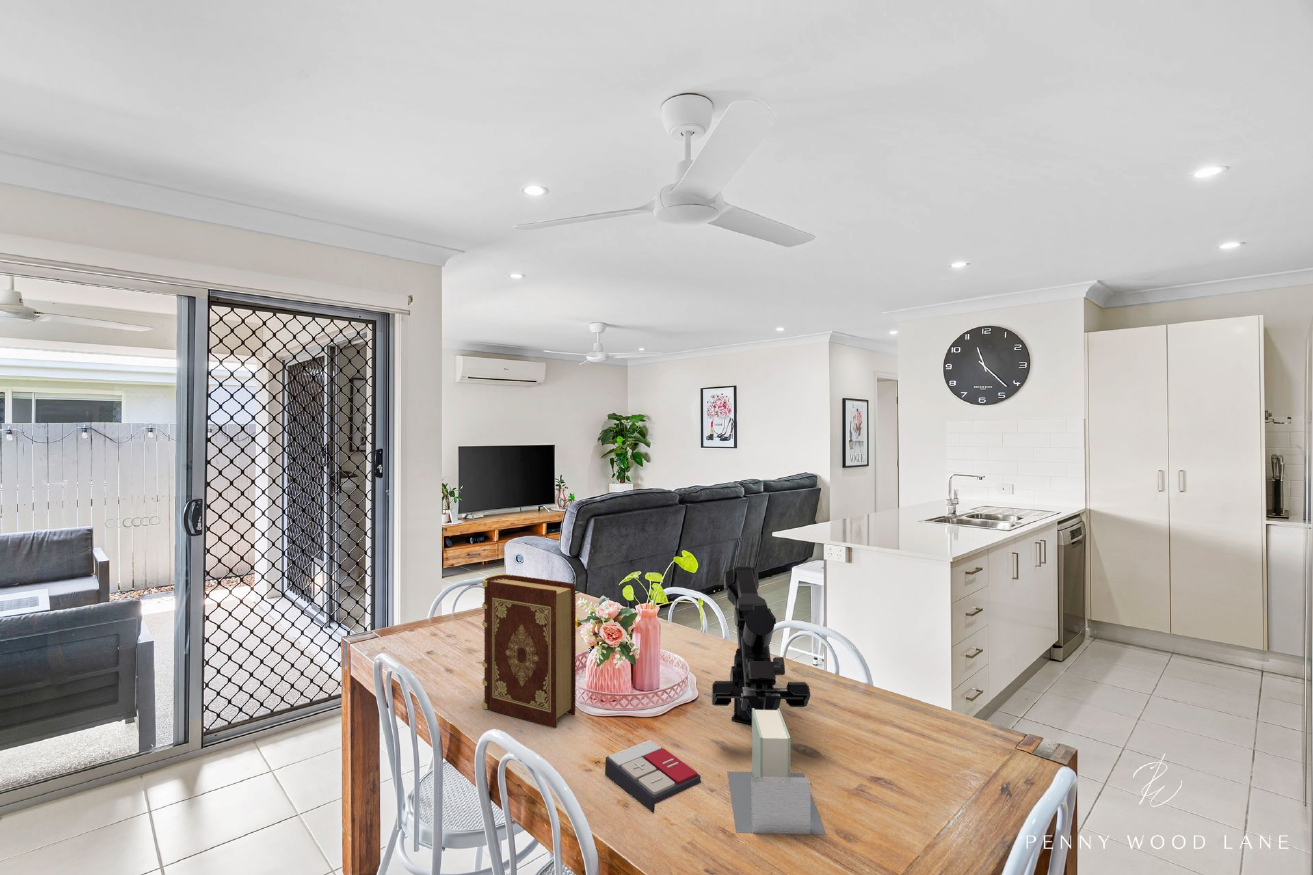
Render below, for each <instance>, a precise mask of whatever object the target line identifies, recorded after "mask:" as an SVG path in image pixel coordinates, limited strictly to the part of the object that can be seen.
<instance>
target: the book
mask: <svg viewBox="0 0 1313 875" xmlns="http://www.w3.org/2000/svg"><path fill="white" fill-rule="evenodd" d="M751 772H752V776H754V777H790V773H791V736H790V733H789V730H788V728H787V725H786V723H785V719H784V718H783V715H782V712H781V710H780V708H779V709H777V710H755V709H754V708H752V725H751Z"/></svg>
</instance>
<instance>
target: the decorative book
mask: <svg viewBox="0 0 1313 875" xmlns="http://www.w3.org/2000/svg"><path fill="white" fill-rule="evenodd" d="M481 583H482V584H481V585H482V586H483V587H484V590H483V591H484V593H483V594H484V598H483V599H484V602H482V605H481V607H482V608H483V609H484V616H483V617H484V619H483V620H482V622H481V623H482V627H484V632H483V634H484V643H483V644H484V646H483V647H484V650H483V651H484V653H483V654H484V655H483V656H484V659H483V661H482V667H483V668H484V674H483V675H484V677H483V678H482V680H481V681H482V682H481V684H482V685H483V686H484V694H483V695H484V696H483V697H484V699H483V700H482V708H483V709H484V710H489V711H491V712H494V713H498V714H499V713H500V714H503V715H506V716H510V717H513V718H516V719H521V720H525V721H527V722H530V723H531V722H532V723H535V724H539V725H543V726H546V727H550V728H557V727H558V725H557V719H558V718H559V717H562V716H563V715H564V714H565V713H567V714H569V715H573V716H575V715H576V699H577V698H576V695H577V693H576V692H577V691H576V688H577V687H576V685H577V684H576V683H577V682H576V681H577V679H576V678H577V677H576V674H577V672H576V671H577V669H576V667H577V666H576V665H577V664H576V662H577V661H576V660H577V658H576V657H577V656H576V653H577V652H576V651H577V648H576V647H577V646H576V643H577V642H576V638H577V637H576V634H577V633H576V630H577V629H576V628H577V626H576V624H577V622H576V620H577V619H576V614H577V613H576V610H577V608H576V606H577V605H576V599H577V598H576V583H573V582H566V581H560V580H551V579H544V578H536V577H531V576H530V577H529V576H522V575H515V574H508V573H499V574H493V575H489V576H487V577H485V578H483V579H482V582H481Z"/></svg>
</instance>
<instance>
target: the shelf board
mask: <svg viewBox="0 0 1313 875" xmlns="http://www.w3.org/2000/svg"><path fill="white" fill-rule="evenodd" d="M751 776H752V771H728V770H727V779H728V786H729V794H730V799H731V807H732V813H733V814H732V815H733V819H734V821H733V822H734V826H735V833H737V834H753V833H752V829H751ZM790 777H805V778H806V775H805V773H804V772H790ZM765 834H770V835H772V834H774V835H775V834H776V835H778V834H779V835H781V834H780V833H764V835H765ZM809 835H811V836H812V835H815V836H816V835H819V836H820V835H822V836H826V835H827V832H826V830H825V827H824V824H823V821H822V819H821V816H820V813H819V810H818V808H817V806H816V802H815V800H814V797H813V795H812V792H811V791H810V834H809Z"/></svg>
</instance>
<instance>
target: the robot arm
mask: <svg viewBox="0 0 1313 875" xmlns="http://www.w3.org/2000/svg"><path fill="white" fill-rule="evenodd" d="M723 577H724V578H723V590H724V591H726V596H727V600H728V601H729V602H730V603H731V604H732V605H733V606H734V610H733V611H734V613H733V616H734V625H735V626H736V636H737V646H738V648H737V649H736V650H735V654H734V657H733V658H734V659H733V665H731V666H730V674H729V680H715V681H713V683H712V686H711V705H712V706H715V707H716V706H717V707H719V706H720V707H721V706H723V707H728V706H729V705H730V704H731V703H732V699H733V715H732V716H731V718H730V720H731V721H734V722H738V723H743V724H746V725H750V726H752V708H754V709H755V710H777V709H780V705H781V701H782V700H785V703H786V704H787V705H788V707H790V708H804V707H807V706H808V704H809V700H810V698H811V690H810V686H809V685H808V683H807V682H806V681H787V685H786V687H785V688H783V687H782V688H781V687H779V688H778V687H775V686H776V683H777V682H776V681H777V680H776V679H777V677H776V676H785V674H786V667H785V660H784V657H783V656H782V657H781V656H780V657H778V656H775V657H773V659H772V658H771V648H770V644H771V642H772V639H773V638H772V637H773V634H774V629H775V625H777V618H776V617H775V615H774V614H773V612H772V610H771V608H769V607H768V606H769V605H768V604H767V600H766V599H765V598H763V597H762V596H760V595H759V592H758V590H759V588H760V586H759V585H760V584H759V572H758V571H756V570H755V567H754V566H752V565H735V566H733V567H732V568H731V569H730V570H727V571H726V572H724V576H723Z"/></svg>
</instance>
